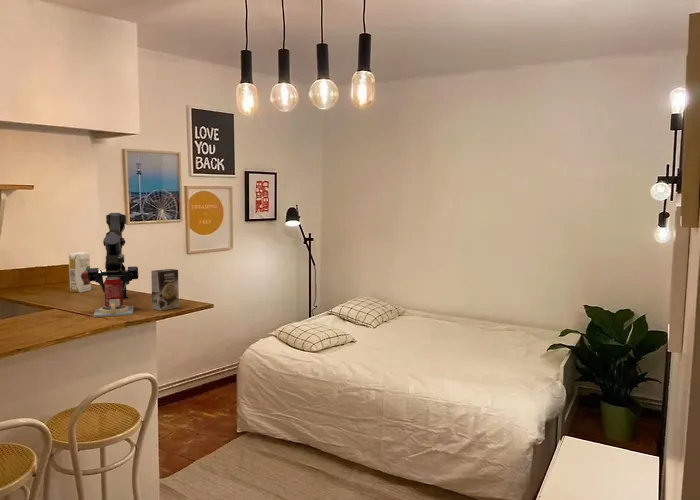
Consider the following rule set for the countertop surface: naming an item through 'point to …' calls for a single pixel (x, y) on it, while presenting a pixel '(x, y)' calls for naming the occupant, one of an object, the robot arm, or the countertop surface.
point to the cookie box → (165, 289)
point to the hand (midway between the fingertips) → (113, 290)
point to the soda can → (113, 292)
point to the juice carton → (79, 271)
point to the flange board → (113, 311)
